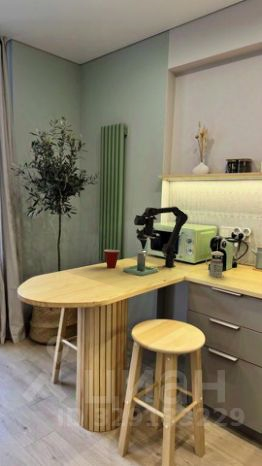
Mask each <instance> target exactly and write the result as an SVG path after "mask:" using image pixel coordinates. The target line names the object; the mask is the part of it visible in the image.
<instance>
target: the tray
mask: <svg viewBox="0 0 262 466" xmlns="http://www.w3.org/2000/svg"><path fill="white" fill-rule="evenodd" d="M122 269H123V271H122V272H125V273H128V274H131V275H135V276H139V277H144V276H148V275H152V274H155V273H159V268H156V267H151V266H147V265H145V271H144V272H140V271H137V264H136V265H132V266H126V267H123V268H122Z"/></svg>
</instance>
